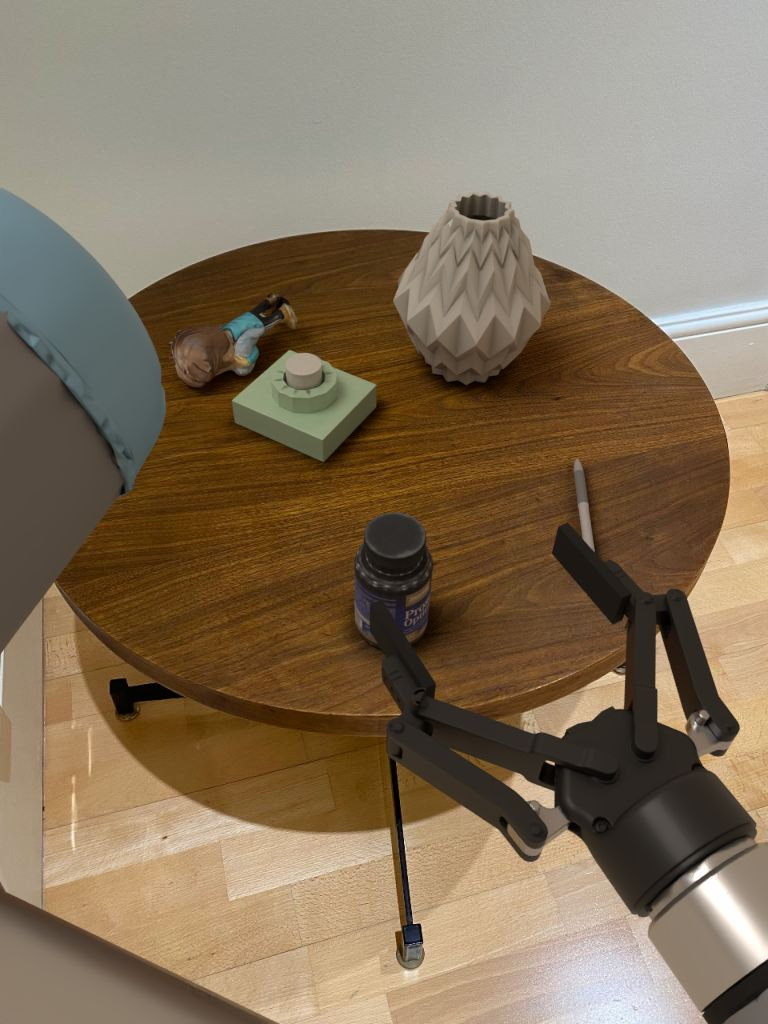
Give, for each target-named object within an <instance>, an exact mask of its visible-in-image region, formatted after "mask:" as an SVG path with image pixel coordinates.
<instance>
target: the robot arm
mask: <svg viewBox="0 0 768 1024" xmlns="http://www.w3.org/2000/svg"><path fill="white" fill-rule="evenodd" d="M165 391H166V390H165V388H164V387H163V386H162V366H161V361H160V359H159V355H158V353H157V350H156V348H155V345H154V343H153V340H152V339H151V337H150V335H149V333H148V331H147V329H146V327H145V324H144V323H143V321H142V319H141V317H140V315H139V314H138V313H137V310H136V309H135V308H134V306H133V304H132V303H131V301H130V300H129V298H128V297H127V295H125V293H124V292H123V290H122V289H121V287H120V286H119V285H118V284H117V283H116V281H115V279H114V278H113V277H112V276H111V275H110V274H109V272H107V270H106V269H105V268H104V267H103V266H102V264H100V262H99V261H98V260H97V259H96V258H95V257H94V256H93V255H92V254H91V252H90V251H88V249H86V248H85V247H84V245H82V244H81V243H80V242H79V241H78V240H77V239H75V237H73V236H72V235H71V234H70V233H69V232H68V231H66V230H65V229H64V228H63V227H62V226H61V225H59V224H58V223H57V222H56V221H54V219H52V218H51V217H50V216H48V215H47V214H46V213H44V212H42V211H41V210H40V209H38V208H36V207H35V206H34V205H32V204H31V203H29V202H27V201H26V200H25V199H23V198H21V197H20V196H18V195H16V194H14V193H13V192H11V191H9V190H7V189H5V188H3V187H0V655H2V653H3V652H4V651H5V649H6V648H7V647H8V645H9V643H10V642H11V641H12V640H13V638H14V637H15V635H16V634H17V632H18V631H19V630H20V629H21V627H22V626H23V624H25V622H26V621H27V619H28V618H29V616H30V615H31V614H32V613H33V611H34V610H35V608H36V607H37V606H38V605H39V603H40V602H41V600H42V599H43V598H44V597H45V596H46V594H47V593H48V591H49V590H50V588H52V586H53V585H54V583H55V582H56V581H57V580H58V578H59V577H60V576H61V574H62V573H63V571H64V570H65V569H66V567H68V565H69V563H70V562H71V561H72V559H74V557H75V556H76V554H77V553H78V551H79V550H80V548H81V547H82V546H83V545H84V544H85V542H86V541H87V539H88V538H89V537H90V535H91V534H92V533H93V532H94V531H95V529H96V527H97V526H98V525H99V523H100V522H101V521H102V520H103V518H104V517H105V516H106V515H107V513H108V512H109V510H110V509H111V508H112V506H113V505H114V504H115V502H116V501H117V500H118V499H119V498H125V496H126V495H127V494H129V493H131V491H133V489H134V488H135V481H136V480H137V479H136V477H137V476H138V474H139V472H140V470H141V469H142V467H143V465H144V464H145V462H146V460H147V458H148V457H149V455H150V453H151V452H152V450H153V448H154V446H155V445H156V443H157V441H158V439H159V437H160V435H161V433H162V430H163V426H164V423H165V420H166V419H165V418H166V411H167V401H166V392H165ZM551 555H552V556H553V557H554V558H555V560H556V561H557V562H558V563H559V564H560V565H561V567H563V569H564V570H565V571H566V572H567V573H568V575H569V576H570V577H571V578H572V579H573V580H574V582H575V583H576V584H577V585H578V586H579V587H580V588H581V589H582V591H583V592H584V593H585V594H586V596H587V597H588V598H589V599H590V600H591V601H592V602H593V604H594V605H595V606H596V608H597V609H599V611H600V612H601V613H602V615H604V616H605V618H606V619H607V620H608V621H609V623H611V625H613V626H614V625H615V624H618V623H620V622H621V621H623V620H624V617H626V618H627V620H626V623H625V626H624V630H626V639H625V640H626V641H625V664H624V665H625V668H624V669H625V670H624V692H623V693H624V694H623V695H624V697H623V708H615V707H614V706H613V705H611V706H609V707H607V708H605V709H603V710H601V711H600V712H599V713H598V714H597V715H596V716H595V717H594V718H593V719H591V720H588V721H587V720H586V721H583V722H582V721H581V722H578V723H575V724H574V725H572V726H570V727H568V728H566V729H565V732H564V734H563V736H562V737H558V736H556V735H553V734H550V733H548V732H544V731H540V732H536V733H534V732H533V733H532V732H530V731H528V730H524V729H521V728H519V727H515V726H513V725H510V724H507V723H505V722H502V721H499V720H496V719H493V718H490V717H487V716H485V715H481V714H479V713H476V712H473V711H471V710H468V709H465V708H462V707H460V706H456V705H453V704H452V703H451V704H450V703H448V702H445V701H443V700H440V699H436V698H435V697H436V687H437V683H436V681H435V680H434V678H433V676H432V675H431V673H430V672H429V670H428V669H427V667H426V666H425V664H424V662H423V661H422V660H421V658H420V657H419V655H418V654H417V652H416V650H415V649H414V648H413V645H410V643H409V641H408V640H407V638H406V637H405V635H404V634H403V632H402V631H401V629H400V628H399V626H398V625H397V623H396V622H395V620H394V619H393V617H392V615H391V614H390V612H389V611H388V609H387V608H386V606H385V605H384V603H383V602H382V600H378V601H376V602H374V603H371V604H370V632H371V634H372V635H373V637H374V639H375V640H376V642H377V643H378V645H379V647H380V648H379V649H380V650H381V651H382V653H383V655H384V657H385V658H382V659H381V680H382V683H383V685H384V686H385V688H386V689H387V691H388V693H389V694H390V696H391V698H392V699H393V701H394V702H395V704H396V706H397V707H398V709H399V711H400V715H399V716H397V717H394V718H392V719H390V720H389V721H388V723H386V738H385V752H386V755H387V756H388V757H389V758H390V759H392V760H393V761H394V762H395V763H396V764H397V763H398V764H399V765H400V766H402V767H403V768H405V769H406V770H407V771H409V772H410V773H412V774H414V775H416V776H417V777H418V778H420V779H421V780H423V781H424V782H425V783H428V784H429V785H431V786H432V787H433V788H435V789H437V790H438V791H440V792H441V793H442V794H444V795H445V796H447V797H449V798H450V799H452V800H453V801H455V802H456V803H458V804H459V805H460V806H462V807H463V808H465V809H466V810H468V811H470V812H471V813H473V814H474V815H475V816H476V817H478V818H479V819H481V820H483V821H484V822H486V823H488V824H489V825H490V826H492V827H493V828H495V829H496V830H498V831H499V832H500V833H501V835H502V836H503V838H504V839H505V840H506V841H507V843H508V844H509V845H510V846H511V848H512V849H513V850H514V851H515V852H516V854H517V856H519V858H520V859H522V860H523V861H525V862H526V863H534V862H536V861H538V860H539V858H540V857H541V854H542V852H543V849H544V847H546V846H547V845H548V844H550V843H551V842H553V841H554V840H556V838H558V837H560V836H561V835H562V834H563V833H564V832H566V831H569V832H570V833H572V834H574V835H576V836H577V838H579V839H581V841H582V842H583V843H584V844H585V846H586V847H587V849H588V852H589V853H590V854H591V856H592V858H593V860H594V862H595V863H596V864H597V866H598V867H599V869H600V870H601V872H602V873H603V874H604V876H605V878H606V879H607V880H608V882H609V883H610V885H611V886H612V887H613V889H614V891H615V892H616V894H617V895H618V896H619V897H620V899H621V901H622V902H623V903H624V905H625V906H626V908H627V909H628V910H629V912H630V914H632V915H634V916H636V915H637V916H638V917H639V918H648V917H649V919H650V920H651V921H650V923H649V924H648V927H647V938H648V939H649V941H650V943H652V945H653V947H655V949H656V951H657V952H658V954H659V955H660V957H661V958H662V960H663V961H664V962H665V964H666V965H667V967H668V968H669V970H670V971H671V972H672V973H673V975H674V977H675V978H676V980H677V981H678V983H679V984H680V986H681V987H682V988H683V991H685V993H686V994H687V996H688V997H689V999H690V1000H691V1002H692V1003H693V1004H694V1005H695V1007H696V1009H697V1010H698V1012H699V1013H700V1014H702V1018H703V1019H704V1021H705V1022H706V1024H768V841H764V842H758V843H757V841H756V840H755V839H756V837H757V834H758V830H757V826H758V825H757V821H756V820H755V819H754V818H753V817H752V816H751V814H750V813H749V812H748V811H747V810H746V809H745V807H744V806H743V805H742V804H741V803H740V801H739V800H738V799H737V798H736V797H735V795H734V794H733V793H732V792H731V791H730V789H729V788H728V787H727V786H726V785H725V784H724V783H723V781H722V780H721V778H720V777H719V776H718V775H717V774H716V773H715V772H713V771H711V770H708V769H707V768H706V767H705V766H704V765H703V763H702V761H701V759H700V757H703V756H706V755H708V754H709V755H711V756H713V757H717V758H719V757H723V756H724V755H726V753H727V751H728V749H729V748H730V747H731V745H732V743H733V741H734V740H735V739H736V737H737V736H738V734H739V732H740V730H741V726H740V723H739V722H738V721H739V720H737V718H736V717H735V716H734V714H733V713H732V711H731V710H730V709H729V707H727V704H726V703H724V701H723V699H722V698H721V697H720V696H719V692H718V689H717V687H716V683H715V680H714V677H713V674H712V671H711V668H710V665H709V661H708V658H707V655H706V653H705V650H704V646H703V643H702V640H701V637H700V634H699V631H698V627H697V625H696V622H695V619H694V615H693V611H692V610H691V606H690V604H689V600H688V597H687V594H686V593H685V592H684V591H682V589H679V588H670V589H668V590H667V591H666V593H663V594H652V593H650V592H648V591H644V590H643V589H642V588H641V587H640V586H639V585H638V584H637V582H635V581H634V579H633V578H632V577H631V576H630V575H628V572H626V571H625V570H624V569H623V567H621V565H620V564H619V563H617V562H616V561H614V560H613V559H611V558H610V559H608V560H607V559H606V560H605V561H603V560H602V558H600V556H599V555H598V554H597V553H596V551H595V552H594V551H593V550H592V549H591V548H590V546H589V545H588V544H587V543H586V542H585V541H584V540H583V539H582V536H581V535H580V534H579V533H578V532H577V531H576V530H575V529H574V527H572V525H571V524H570V523H569V522H565V523H563V524H560V525H558V526H557V529H556V534H555V538H554V542H553V547H552V551H551ZM657 626H658V629H659V632H660V636H661V640H662V642H663V646H664V650H665V653H666V657H667V660H668V663H669V664H668V665H669V667H670V670H671V674H672V677H673V681H674V684H675V688H676V691H677V694H678V698H679V701H680V705H681V709H682V712H683V714H684V717H685V720H686V723H685V726H684V730H685V732H686V733H685V732H683V731H681V730H679V729H676V728H674V727H671V726H669V725H666V724H664V723H662V722H659V721H658V714H659V713H658V711H659V710H658V709H659V708H658V707H659V706H658V704H659V703H658V701H659V699H658V697H659V692H658V688H656V685H657V684H656V682H657V680H656V674H657V673H656V672H657V669H656V668H657V663H656V662H657V661H656V660H657V653H656V652H657ZM457 752H459V753H462V754H465V755H467V756H470V757H473V758H476V759H477V760H481V761H483V762H486V763H489V764H492V765H494V766H497V767H500V768H502V769H505V770H508V771H511V772H513V773H517V774H520V775H521V776H522V777H523V778H524V779H525V781H527V782H529V783H531V784H533V785H536V786H539V787H541V788H544V789H547V790H550V791H551V792H554V793H553V794H554V795H553V797H554V798H553V802H554V803H553V807H551V808H550V807H545V806H543V805H542V804H541V803H540V802H539V801H538V800H536V799H535V800H534V799H533V800H526V799H525V798H524V797H522V796H521V795H520V794H519V793H518V792H517V791H515V790H514V789H513V788H512V787H510V786H509V785H508V784H506V783H505V782H503V781H502V780H500V779H498V778H496V777H495V776H493V775H492V774H490V773H489V772H487V771H486V770H484V769H482V768H481V767H479V766H477V765H476V764H474V763H473V762H472V761H470V760H469V759H467V758H465V757H463V755H460V754H459V753H457ZM550 762H551V763H550ZM552 763H554V764H552ZM0 1024H280V1023H279V1022H277V1021H276V1020H274V1019H271V1018H269V1017H267V1016H265V1015H262V1014H261V1013H259V1012H257V1011H254V1010H252V1009H250V1008H247V1007H246V1006H244V1005H242V1004H239V1003H238V1002H236V1001H233V1000H231V999H229V998H227V997H225V996H223V995H221V994H220V993H217V992H215V991H213V990H211V989H208V988H207V987H205V986H203V985H200V984H199V983H196V982H194V981H192V980H190V979H188V978H186V977H184V976H182V975H180V974H178V973H175V972H173V971H172V970H169V969H167V968H165V967H164V966H161V965H159V964H156V963H155V962H153V961H150V960H148V959H147V958H144V957H142V956H140V955H138V954H136V953H134V952H132V951H130V950H127V949H126V948H123V947H121V946H120V945H117V944H115V943H113V942H111V941H109V940H107V939H106V938H105V939H104V938H103V937H101V936H98V935H96V934H95V933H93V932H90V931H88V930H86V929H84V928H82V927H80V926H78V925H75V923H74V924H73V923H72V922H70V921H68V920H66V919H64V918H61V917H59V916H57V915H55V914H53V913H51V912H49V911H47V910H44V909H43V908H40V907H39V906H36V905H34V904H32V903H30V902H28V901H26V900H24V899H22V898H20V897H18V896H16V895H13V894H12V893H10V892H7V891H6V889H5V888H4V886H3V884H2V882H1V881H0Z"/></svg>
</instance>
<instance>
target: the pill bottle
mask: <svg viewBox="0 0 768 1024" xmlns="http://www.w3.org/2000/svg"><path fill="white" fill-rule="evenodd" d="M353 560H354V561H353V562H354V563H353V564H354V568H353V569H354V570H353V571H354V573H353V574H354V624H355V627H356V629H357V631H358V633H359V635H360V637H361V638H362V639H363V640H364V641H366V642H367V643H368V644H370V645H371V646H373V647H375V648H378V649H381V648H380V647H379V645H378V643H377V642H376V640H375V639H374V637H373V635H372V634H371V632H370V604H371V603H374V602H376V601H378V600H382V602H383V603H384V605H385V606H386V608H387V609H388V611H389V612H390V614H391V615H392V617H393V619H394V620H395V622H396V623H397V625H398V626H399V628H400V629H401V631H402V632H403V634H404V635H405V637H406V638H407V640H408V641H409V643H410V645H411V646H413V645H415V644H416V643H417V642H418V641H419V640H421V638H422V637H423V635H424V634H425V632H426V630H427V627H428V622H429V621H428V620H429V612H430V600H431V590H432V580H433V569H434V560H433V555H432V553H431V551H430V549H429V547H428V546H427V532H426V529H425V527H424V525H423V524H422V523H421V522H420V521H419V520H418V519H417V518H415V517H414V516H412V515H409V514H408V513H407V514H406V513H402V512H386V513H383V514H379V515H377V516H375V517H374V518H373V519H371V520H370V521H369V522H368V523H367V525H366V526H365V529H364V531H363V542H362V543H361V545H359V547H358V548H357V551H356V553H355V557H354V559H353Z"/></svg>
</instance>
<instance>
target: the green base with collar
mask: <svg viewBox="0 0 768 1024" xmlns="http://www.w3.org/2000/svg"><path fill="white" fill-rule="evenodd" d="M295 354H298V352H296V351H293V350H291V349H288V350H287V351H286V352H285V353H284V354H283V355H281V356H280V357H279V358H278V359H277V360H276V361H275V362H274V363H272V364H271V365H270V366H269V367H268V368H267V369H266V370H265V371H264V372H262V373H261V374H260V375H259V376H258V377H257V378H256V379H254V380H253V381H252V382H251V383H250V384H248V385H247V386H246V387H245V388H244V389H243V390H242V391H240V392H239V393H238V394H237V395H236V396H235V397H234V398H233V399H231V404H232V405H231V406H232V411H233V419H234V420H233V421H234V423H235V424H237V425H239V426H241V427H243V428H246V429H248V430H250V431H253V432H255V433H257V434H258V435H261V436H264V437H266V438H268V439H270V440H272V441H276V442H277V443H280V444H282V445H283V446H287V447H288V448H290V449H293V450H295V451H298V452H299V453H302V454H304V455H307V456H308V457H311V458H313V459H315V460H317V461H320V462H322V463H324V462H326V461H327V459H328V458H329V457H330V456H332V454H333V453H334V452H335V451H336V450H337V449H338V448H339V447H340V446H341V445H342V444H343V443H344V441H346V439H348V437H349V436H350V435H351V434H352V433H353V432H354V431H355V430H356V429H357V428H358V427H359V426H360V425H361V424H362V423H363V422H364V420H366V419H367V417H368V416H370V414H371V413H372V412H373V411H374V410H375V409H376V408H377V397H378V396H377V395H378V394H377V389H378V385H377V383H374V382H372V381H368V380H366V379H363V378H361V377H358V376H356V375H353V374H351V373H348V372H346V371H343V370H341V369H339V368H336V367H333V366H332V364H331V363H330V362H328V361H327V360H323V359H321V358H320V360H321V362H322V383H321V385H320V386H319V387H316V388H313V389H310V390H296V389H293V388H291V387H289V386H288V384H287V381H286V369H285V363H286V360H287V359H288V358H289V357H291V356H292V355H295Z"/></svg>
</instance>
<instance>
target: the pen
mask: <svg viewBox="0 0 768 1024" xmlns="http://www.w3.org/2000/svg"><path fill="white" fill-rule="evenodd" d="M583 467H584V466H583V464H582V462H581V461H580V459H579V458H575V460H574V462H573V478H574V479H573V480H574V485H575V487H574V488H575V494H576V499H577V500H576V502H577V509H578V513H579V523H580V529H581V538H582V539H583V540H584V541H585V542H586V543H587V544H588V545H589V546H590V548H591V549H592V550H593V551H594V552H595V553H596V550H595V543H594V535H593V529H592V522H591V514H590V504H589V497H588V490H587V482H586V477H585V476H586V475H585V471H584V468H583Z"/></svg>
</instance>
